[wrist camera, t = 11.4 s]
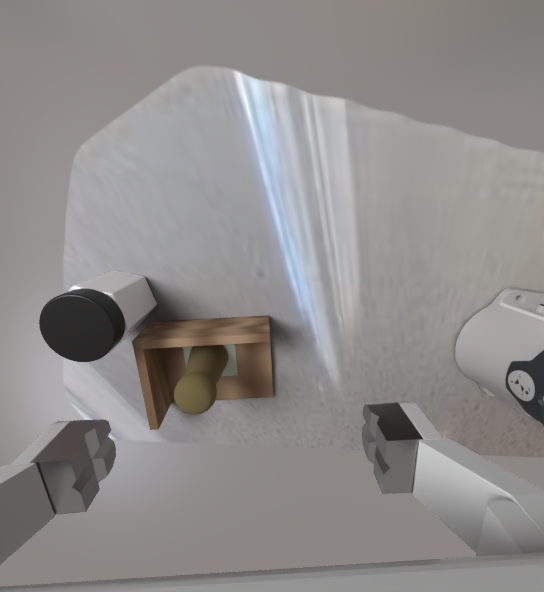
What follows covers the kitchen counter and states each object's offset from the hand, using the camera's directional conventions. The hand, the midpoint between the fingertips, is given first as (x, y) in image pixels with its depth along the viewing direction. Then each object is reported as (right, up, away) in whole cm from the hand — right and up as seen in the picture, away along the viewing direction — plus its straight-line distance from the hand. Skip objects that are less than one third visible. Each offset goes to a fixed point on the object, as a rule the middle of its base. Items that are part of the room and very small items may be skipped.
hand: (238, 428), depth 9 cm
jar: (-21, +4, +34) cm, 40 cm away
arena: (-8, -6, +37) cm, 38 cm away
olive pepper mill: (-9, -5, +36) cm, 37 cm away
